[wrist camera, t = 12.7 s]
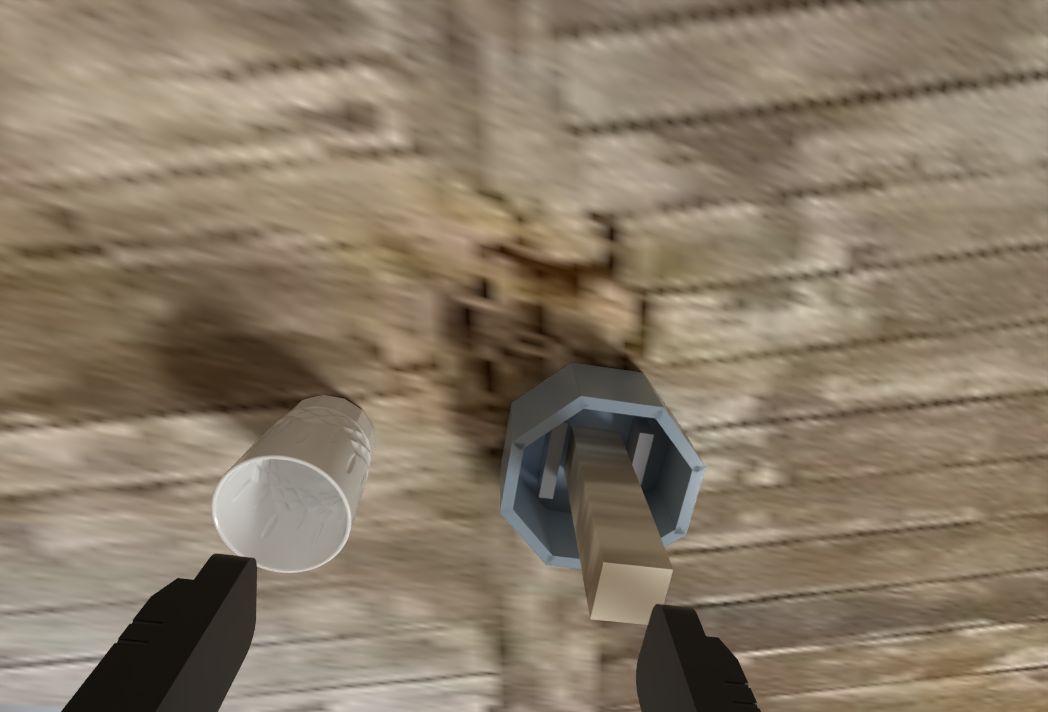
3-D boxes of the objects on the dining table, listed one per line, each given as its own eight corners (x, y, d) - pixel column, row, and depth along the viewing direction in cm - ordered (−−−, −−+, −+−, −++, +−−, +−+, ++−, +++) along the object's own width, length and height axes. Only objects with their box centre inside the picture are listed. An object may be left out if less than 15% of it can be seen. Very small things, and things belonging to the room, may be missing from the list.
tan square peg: (571, 425, 44) (603, 562, 29) (619, 431, 44) (673, 569, 30) (563, 468, 45) (590, 619, 31) (609, 473, 45) (657, 625, 31)
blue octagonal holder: (519, 355, 42) (521, 387, 37) (692, 379, 43) (720, 415, 38) (493, 507, 46) (492, 558, 41) (652, 527, 47) (672, 579, 42)
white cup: (362, 498, 46) (324, 590, 36) (260, 460, 44) (194, 546, 35) (399, 411, 44) (370, 486, 34) (294, 369, 42) (233, 434, 33)
